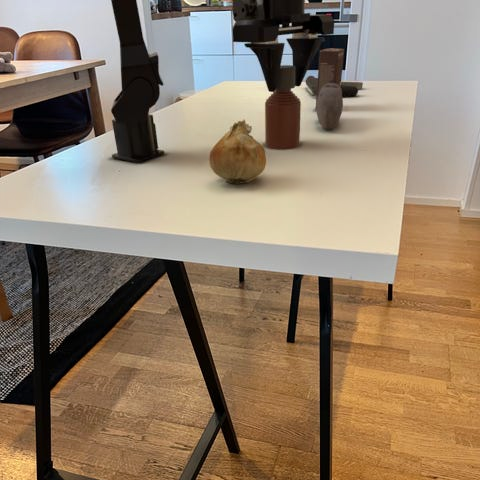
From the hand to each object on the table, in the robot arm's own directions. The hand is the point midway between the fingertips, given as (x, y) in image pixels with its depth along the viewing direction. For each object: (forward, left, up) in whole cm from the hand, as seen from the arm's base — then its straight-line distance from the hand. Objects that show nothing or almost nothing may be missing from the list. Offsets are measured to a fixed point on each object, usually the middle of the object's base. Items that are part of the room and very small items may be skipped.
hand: (284, 88), depth 80 cm
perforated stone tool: (+17, 0, -9) cm, 19 cm away
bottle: (0, 0, -9) cm, 9 cm away
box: (+33, +8, -9) cm, 35 cm away
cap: (0, 0, 0) cm, 0 cm away
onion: (-21, -5, -9) cm, 23 cm away
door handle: (+56, +17, -9) cm, 59 cm away
